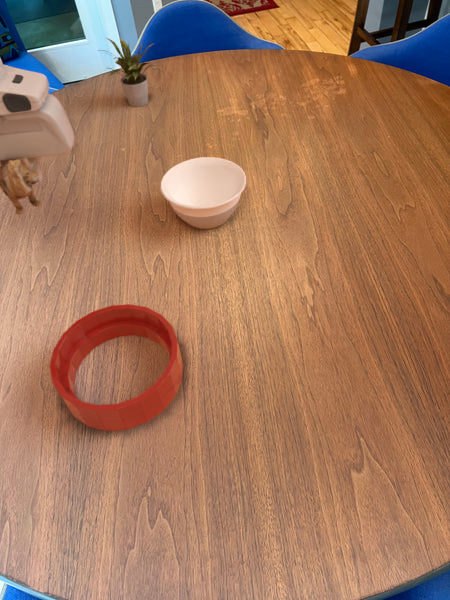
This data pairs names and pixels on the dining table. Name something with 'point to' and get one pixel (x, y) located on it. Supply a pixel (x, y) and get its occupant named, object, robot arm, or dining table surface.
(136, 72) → the house plant
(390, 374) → the dining table surface
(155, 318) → the red plastic ring
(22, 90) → the robot arm
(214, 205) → the bowl
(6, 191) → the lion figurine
